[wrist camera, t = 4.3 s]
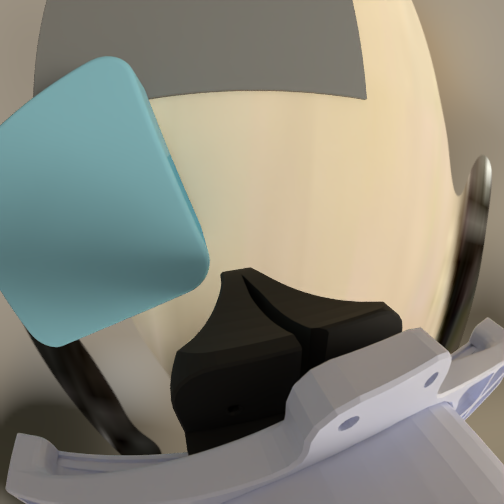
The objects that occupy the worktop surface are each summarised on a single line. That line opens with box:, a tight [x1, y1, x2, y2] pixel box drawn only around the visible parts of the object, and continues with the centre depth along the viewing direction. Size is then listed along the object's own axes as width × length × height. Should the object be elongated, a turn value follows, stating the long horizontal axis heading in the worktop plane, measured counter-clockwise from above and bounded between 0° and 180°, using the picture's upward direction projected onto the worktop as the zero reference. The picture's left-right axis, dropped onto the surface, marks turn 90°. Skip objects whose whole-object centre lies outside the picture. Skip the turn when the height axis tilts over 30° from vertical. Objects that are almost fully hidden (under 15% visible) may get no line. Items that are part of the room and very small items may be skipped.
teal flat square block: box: [0, 56, 210, 347], centre depth 12 cm, size 12×4×12 cm
